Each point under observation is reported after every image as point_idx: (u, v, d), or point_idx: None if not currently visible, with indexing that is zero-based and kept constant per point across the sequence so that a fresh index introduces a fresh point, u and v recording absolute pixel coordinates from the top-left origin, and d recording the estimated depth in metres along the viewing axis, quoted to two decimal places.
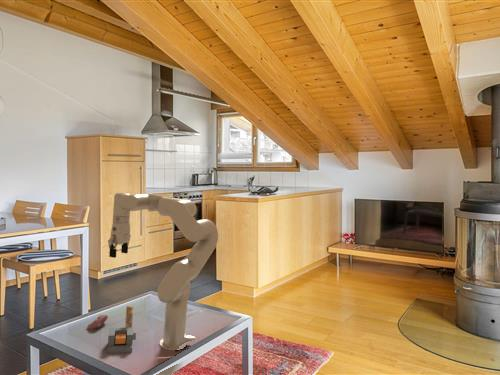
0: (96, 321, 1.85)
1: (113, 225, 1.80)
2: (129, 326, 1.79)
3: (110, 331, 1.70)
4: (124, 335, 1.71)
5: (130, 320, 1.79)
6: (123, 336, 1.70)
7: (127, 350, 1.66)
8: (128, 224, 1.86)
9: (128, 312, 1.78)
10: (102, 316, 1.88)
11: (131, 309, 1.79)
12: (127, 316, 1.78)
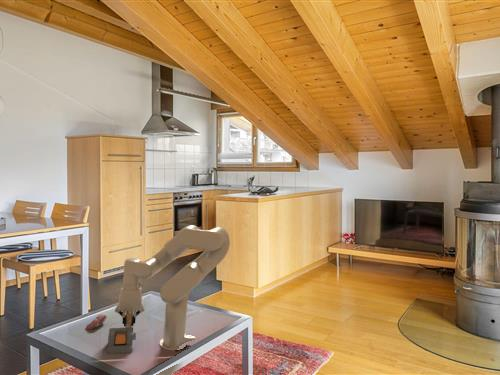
0: (95, 321, 1.85)
1: (141, 291, 1.79)
2: (129, 326, 1.79)
3: (110, 331, 1.70)
4: (124, 335, 1.71)
5: (130, 320, 1.79)
6: (123, 336, 1.70)
7: (127, 350, 1.66)
8: None
9: (128, 312, 1.78)
10: (101, 316, 1.88)
11: None
12: (127, 316, 1.78)
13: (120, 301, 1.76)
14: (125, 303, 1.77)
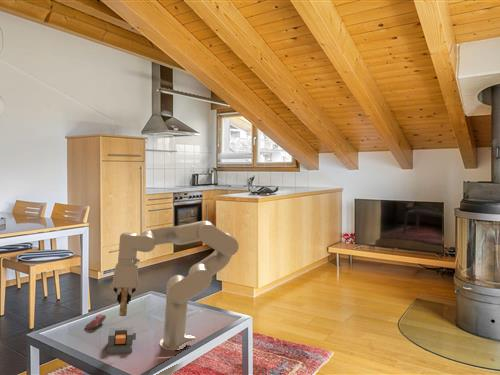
0: (94, 321, 1.85)
1: (137, 268, 1.70)
2: (124, 304, 1.70)
3: (110, 331, 1.70)
4: (124, 335, 1.71)
5: (125, 297, 1.70)
6: (123, 336, 1.70)
7: (127, 350, 1.66)
8: None
9: (123, 289, 1.69)
10: (100, 316, 1.89)
11: None
12: (122, 293, 1.69)
13: (115, 277, 1.67)
14: (120, 279, 1.67)
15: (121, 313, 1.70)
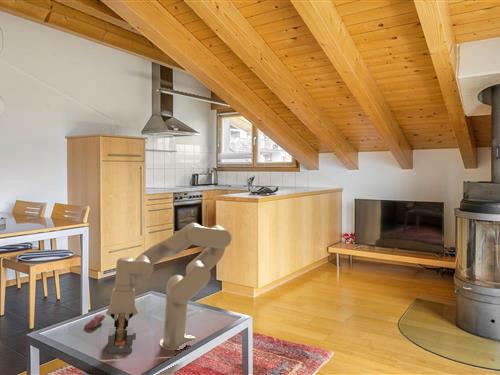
0: (93, 321, 1.85)
1: (134, 293, 1.69)
2: (121, 330, 1.68)
3: (110, 331, 1.70)
4: (124, 339, 1.71)
5: (122, 323, 1.68)
6: None
7: (127, 350, 1.66)
8: None
9: (120, 315, 1.68)
10: (99, 316, 1.89)
11: None
12: (119, 319, 1.68)
13: (112, 303, 1.66)
14: (117, 305, 1.66)
15: (118, 339, 1.68)
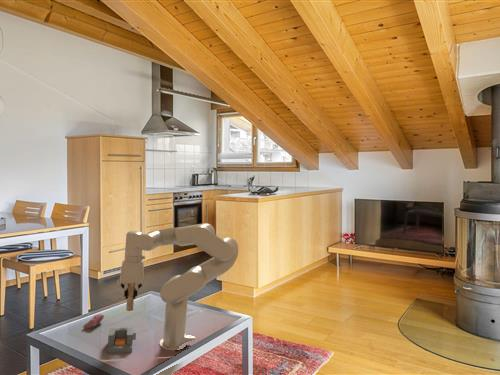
0: (92, 320, 1.85)
1: (143, 264, 1.79)
2: (131, 299, 1.78)
3: (110, 331, 1.70)
4: (123, 339, 1.71)
5: (132, 293, 1.78)
6: (123, 340, 1.70)
7: (127, 350, 1.66)
8: None
9: (130, 285, 1.78)
10: (98, 315, 1.89)
11: None
12: (129, 289, 1.78)
13: (122, 273, 1.75)
14: (127, 275, 1.76)
15: (128, 308, 1.78)
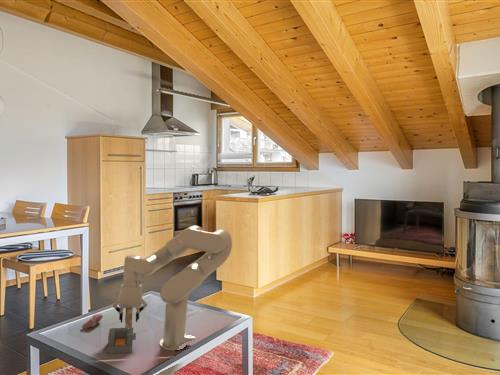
0: (91, 320, 1.85)
1: (141, 288, 1.79)
2: (129, 326, 1.79)
3: (110, 331, 1.70)
4: (123, 339, 1.71)
5: (130, 320, 1.79)
6: (123, 340, 1.70)
7: (127, 350, 1.66)
8: None
9: (127, 312, 1.78)
10: (97, 315, 1.89)
11: (130, 309, 1.79)
12: (127, 316, 1.78)
13: (120, 298, 1.76)
14: (125, 300, 1.77)
15: None
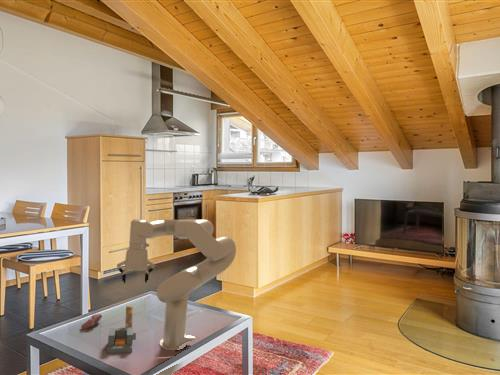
0: (90, 320, 1.85)
1: (147, 251, 1.83)
2: (129, 326, 1.79)
3: (110, 331, 1.70)
4: (123, 339, 1.71)
5: (130, 320, 1.79)
6: (123, 340, 1.70)
7: (127, 350, 1.66)
8: None
9: (128, 312, 1.78)
10: (96, 315, 1.89)
11: (131, 309, 1.79)
12: (127, 316, 1.78)
13: (127, 260, 1.80)
14: (132, 262, 1.80)
15: None
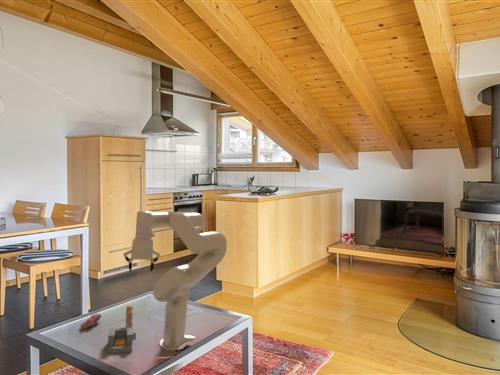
0: (89, 320, 1.85)
1: (152, 241, 1.90)
2: (129, 326, 1.79)
3: (110, 331, 1.70)
4: (123, 339, 1.71)
5: (130, 320, 1.79)
6: (123, 340, 1.70)
7: (127, 350, 1.66)
8: None
9: (128, 312, 1.78)
10: (95, 315, 1.89)
11: (131, 309, 1.79)
12: (127, 316, 1.79)
13: (133, 250, 1.87)
14: (137, 252, 1.87)
15: None
